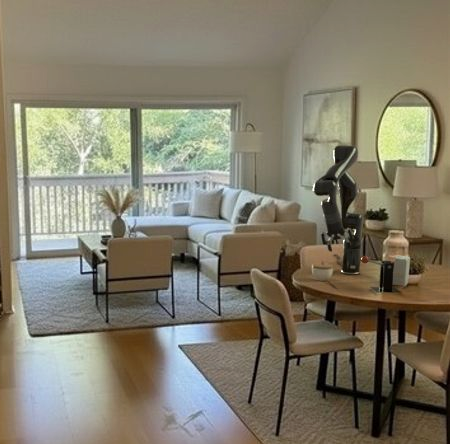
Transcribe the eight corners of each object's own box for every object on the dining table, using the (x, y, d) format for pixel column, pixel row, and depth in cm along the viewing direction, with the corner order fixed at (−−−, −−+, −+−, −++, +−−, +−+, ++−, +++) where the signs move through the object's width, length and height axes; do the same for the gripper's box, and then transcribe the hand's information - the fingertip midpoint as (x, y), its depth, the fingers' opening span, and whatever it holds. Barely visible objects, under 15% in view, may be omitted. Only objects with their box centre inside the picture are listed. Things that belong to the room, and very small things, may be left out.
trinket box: (310, 276, 303) (311, 259, 301) (331, 277, 300) (332, 260, 299) (311, 281, 292) (312, 263, 291) (333, 282, 290) (334, 264, 289)
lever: (361, 262, 268) (363, 255, 268) (358, 261, 272) (361, 254, 271) (390, 270, 268) (392, 263, 268) (387, 269, 272) (389, 262, 272)
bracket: (376, 294, 267) (378, 264, 265) (369, 289, 277) (371, 259, 275) (402, 295, 267) (404, 264, 265) (394, 289, 277) (395, 259, 274)
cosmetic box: (395, 283, 288) (397, 254, 286) (408, 285, 285) (410, 256, 283) (392, 286, 281) (393, 257, 279) (405, 288, 278) (407, 259, 276)
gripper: (348, 214, 269) (355, 244, 274) (318, 219, 275) (326, 248, 280) (347, 220, 263) (355, 251, 268) (316, 225, 269) (324, 255, 274)
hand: (340, 249), depth 274 cm, fingers open, 8 cm apart
